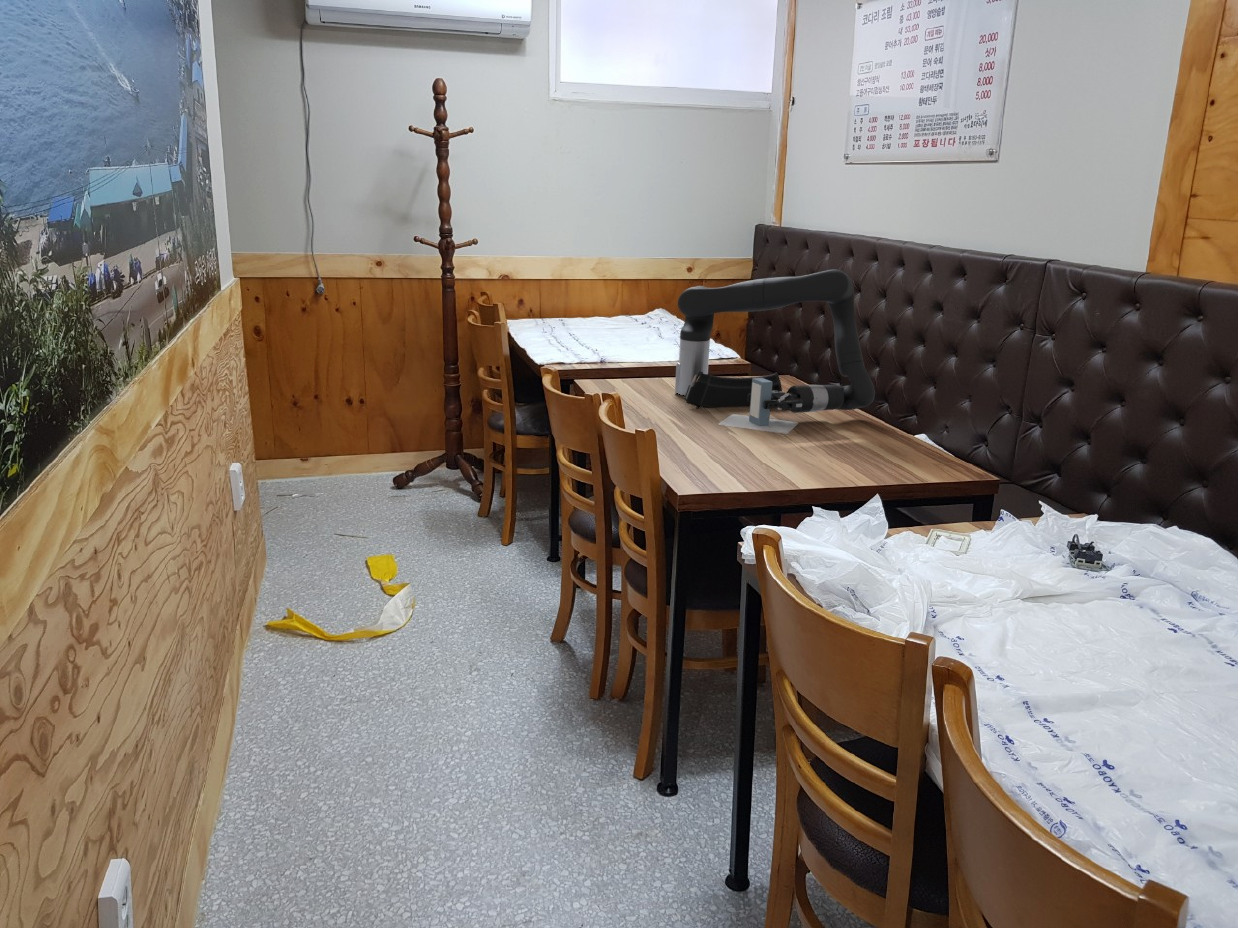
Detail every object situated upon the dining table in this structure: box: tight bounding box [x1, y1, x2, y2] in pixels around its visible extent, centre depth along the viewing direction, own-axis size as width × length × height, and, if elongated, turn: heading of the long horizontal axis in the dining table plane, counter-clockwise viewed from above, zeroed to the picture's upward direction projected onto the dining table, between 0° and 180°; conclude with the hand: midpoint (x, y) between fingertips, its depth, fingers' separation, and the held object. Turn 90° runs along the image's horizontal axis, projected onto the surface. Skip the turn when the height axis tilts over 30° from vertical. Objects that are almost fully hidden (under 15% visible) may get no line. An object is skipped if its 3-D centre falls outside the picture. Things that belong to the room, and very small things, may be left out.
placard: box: [748, 378, 772, 426], centre depth 239 cm, size 3×6×12 cm, turn 21°
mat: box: [717, 413, 800, 435], centre depth 241 cm, size 19×14×1 cm
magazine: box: [684, 371, 783, 410], centre depth 260 cm, size 17×3×30 cm
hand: (755, 401), depth 238 cm, fingers open, 8 cm apart
